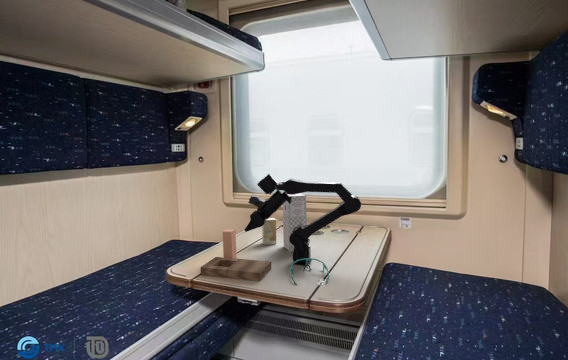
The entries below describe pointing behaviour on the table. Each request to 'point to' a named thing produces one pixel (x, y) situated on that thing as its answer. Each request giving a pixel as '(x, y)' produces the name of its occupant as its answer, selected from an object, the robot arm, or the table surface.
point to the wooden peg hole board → (236, 268)
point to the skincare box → (269, 232)
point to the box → (293, 217)
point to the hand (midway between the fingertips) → (247, 228)
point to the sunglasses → (309, 267)
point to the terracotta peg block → (229, 243)
